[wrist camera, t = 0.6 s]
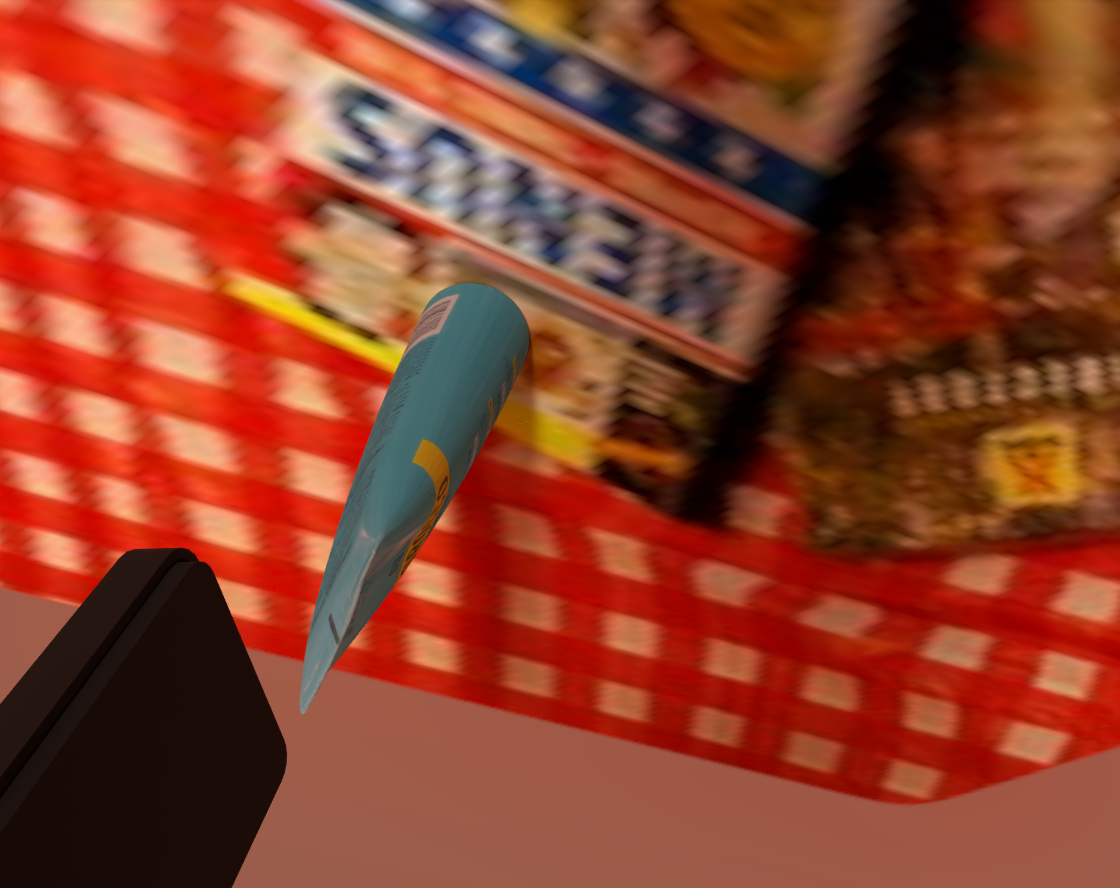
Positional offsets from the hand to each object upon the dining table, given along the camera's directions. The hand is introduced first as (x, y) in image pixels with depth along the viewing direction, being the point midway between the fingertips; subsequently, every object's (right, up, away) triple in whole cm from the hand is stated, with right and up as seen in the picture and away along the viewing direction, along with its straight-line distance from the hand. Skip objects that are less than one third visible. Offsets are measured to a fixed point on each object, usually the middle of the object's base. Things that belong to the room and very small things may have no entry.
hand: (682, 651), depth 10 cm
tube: (-5, +7, +35) cm, 36 cm away
